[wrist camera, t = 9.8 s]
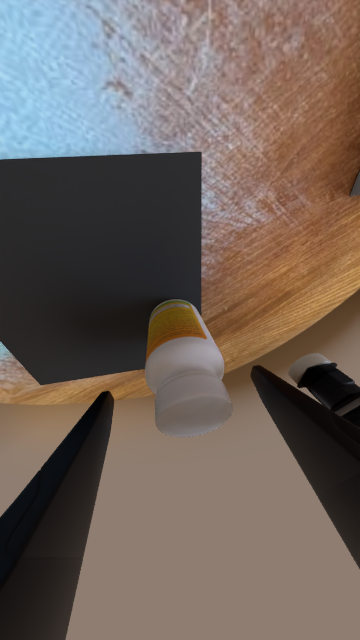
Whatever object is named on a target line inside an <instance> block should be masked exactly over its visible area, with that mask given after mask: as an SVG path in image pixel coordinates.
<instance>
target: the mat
mask: <svg viewBox="0 0 360 640" xmlns="http://www.w3.org/2000/svg"><path fill="white" fill-rule="evenodd" d="M172 299H180V300H184V301H187V302H189V303H191V304H192V305H193V306H194V307H195V308H196V309H197V311H198V312H199V314H200V316H201V152H183V153H158V154H132V155H106V156H80V157H54V158H28V159H2V160H0V341H1V342H2V344H3V345H4V346H5V347H6V348H7V349H8V350H9V351H10V352H11V353H12V354H13V356H14V357H15V358H16V359H17V360H18V361H19V362H20V363H21V364H22V365H23V366H24V367H25V369H26V370H27V371H28V372H29V373H30V374H31V375H32V376H33V377H34V378H35V379H36V381H37V382H38V383H39V384H40V385H46V384H52V383H58V382H64V381H71V380H77V379H83V378H89V377H96V376H102V375H108V374H114V373H121V372H127V371H133V370H139V369H145V364H146V353H147V342H148V330H149V320H150V316H151V314H152V312H153V310H154V309H155V308H156V307H157V306H158V305H159V304H161V303H163V302H165V301H167V300H172Z"/></svg>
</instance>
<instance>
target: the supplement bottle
mask: <svg viewBox="0 0 360 640" xmlns="http://www.w3.org/2000/svg"><path fill="white" fill-rule="evenodd" d="M223 374H224V360H223V357H222V355H221V353H220V351H219V349H218V347H217V345H216V343H215V342H214V340H213V338H212V336H211V334H210V332H209V330H208V329H207V327H206V325H205V323H204V321H203V319H202V318H201V316H200V314H199V312H198V311H197V309H196V308H195V307H194V306H193V305H192V304H191V303H189V302H187V301H184V300H180V299H172V300H167V301H165V302H163V303H161V304H159V305H158V306H157V307H156V308H155V309H154V310H153V312H152V314H151V316H150V320H149V330H148V342H147V353H146V364H145V378H146V382H147V385H148V387H149V388H150V390H151V391H152V392H153V393H154V394H155V395H156V399H155V419H156V420H155V421H156V426H157V428H158V429H159V430H160V431H161V432H162V433H164V434H166V435H169V436H174V437H191V436H197V435H201V434H205V433H207V432H210V431H212V430H215V429H216V428H218V427H220V426H221V425H223V424H224V423H225V422H226V421H227V420H228V419H229V418H230V416H231V415H232V411H233V406H232V403H231V400H230V398H229V396H228V393H227V391H226V388H225V385H224V384H223V382H222V381H221V379H222V377H223Z"/></svg>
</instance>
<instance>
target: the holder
mask: <svg viewBox="0 0 360 640" xmlns="http://www.w3.org/2000/svg"><path fill="white" fill-rule="evenodd" d="M353 195H360V172H359V174H358V177H357V179H356V181H355V184H354V186H353V189H352V191H351V194H350V196H353Z"/></svg>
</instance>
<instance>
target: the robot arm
mask: <svg viewBox="0 0 360 640" xmlns="http://www.w3.org/2000/svg"><path fill="white" fill-rule="evenodd" d="M336 366H337V364H336V363H329V364H323V365H317V366H311V367H308V368H307V369H306V371H305V372H304V374H303V376H302V378H301V379H300V381H299V383H298V385H297V387H298V388H304V387H306V388H307V389H308V390H309V392H310V393H311V394H313V396H314V397H315V398H316V399H318V401H319V402H320V403H321V404H320V403H318V402H317V401H315V400H314V399H312V398H310V397H309V396H308V395H306V394H304V393H303V392H301V391H299V390H298V389H296V388H295V387H293V386H292V385H290V384H289V383H287V382H286V381H284V380H282V379H281V378H279V377H278V376H276V375H275V374H273V373H271V372H270V371H268V370H267V369H265V368H264V367H262V366H260V365H256V366H253V367H252V371H251V378H252V381H253V383H254V385H255V387H256V389H257V391H258V393H259V396H260V398H261V400H262V402H263V404H264V405H265V407H266V409H267V410H268V412H269V414H270V416H271V417H272V419H273V421H274V423H275V424H276V426H277V428H278V429H279V431H280V433H281V435H282V436H283V438H284V440H285V442H286V443H287V445H288V447H289V448H290V450H291V452H292V453H293V455H294V457H295V459H296V460H297V462H298V464H299V465H300V467H301V469H302V470H303V472H304V474H305V476H306V478H307V479H308V481H309V483H310V484H311V486H312V488H313V490H314V491H315V493H316V495H317V496H318V498H319V500H320V502H321V503H322V505H323V507H324V509H325V510H326V512H327V514H328V516H329V517H330V519H331V521H332V522H333V524H334V526H335V528H336V529H337V531H338V533H339V534H340V536H341V538H342V540H343V541H344V543H345V544H346V546H347V548H348V550H349V552H350V553H351V555H352V557H353V558H354V560H355V562H356V564H357V565H358V567H359V569H360V387H359V386H357V385H356V384H355V382H354V381H353V380H352V379H351V378H349V377H348V376H347V375H345V374H344V373H342V372H341V371H340V370H339V369H337V368H336ZM113 407H114V398H113V396H112V395H111V393H110V391H105V392H102V393H101V394H100V395H99V396H98V397H97V399H96V400H95V401H94V402H93V404H92V405H91V406H90V407H89V409H88V410H87V411H86V412H85V414H84V415H83V416H82V417H81V419H80V420H79V421H78V422H77V424H76V425H75V426H74V427H73V429H72V430H71V431H70V433H69V434H68V435H67V436H66V438H65V439H64V440H63V441H62V443H61V444H60V445H59V446H58V447H57V449H56V450H55V451H54V453H53V454H52V455H51V456H50V457H49V459H48V460H47V461H46V462H45V464H44V465H43V466H42V467H41V470H39V471H38V472H37V474H36V475H35V476H34V477H33V479H32V480H31V481H30V483H29V484H28V485H27V486H26V488H25V489H24V490H23V491H22V492H21V493H20V495H19V496H18V497H17V498H16V499H15V501H14V502H13V503H12V504H11V505H10V506H9V508H8V509H7V510H6V511H5V512H4V513H3V515H2V516H1V517H0V640H65V639H66V634H67V630H68V625H69V621H70V616H71V611H72V607H73V602H74V597H75V593H76V588H77V584H78V579H79V575H80V570H81V565H82V561H83V556H84V551H85V547H86V542H87V537H88V533H89V528H90V523H91V519H92V515H93V510H94V505H95V501H96V496H97V491H98V487H99V482H100V478H101V473H102V469H103V464H104V460H105V455H106V450H107V446H108V441H109V437H110V431H111V424H112V416H113Z"/></svg>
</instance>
